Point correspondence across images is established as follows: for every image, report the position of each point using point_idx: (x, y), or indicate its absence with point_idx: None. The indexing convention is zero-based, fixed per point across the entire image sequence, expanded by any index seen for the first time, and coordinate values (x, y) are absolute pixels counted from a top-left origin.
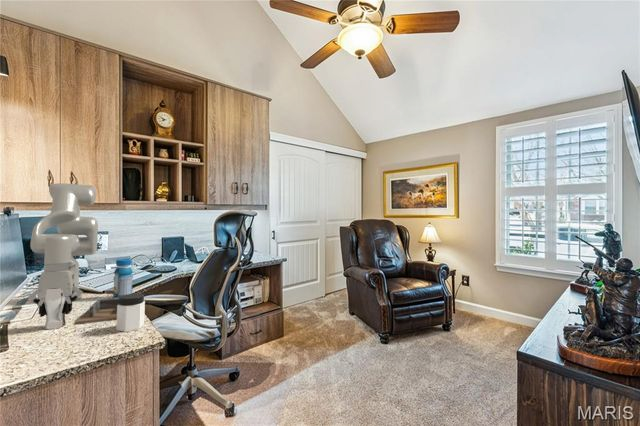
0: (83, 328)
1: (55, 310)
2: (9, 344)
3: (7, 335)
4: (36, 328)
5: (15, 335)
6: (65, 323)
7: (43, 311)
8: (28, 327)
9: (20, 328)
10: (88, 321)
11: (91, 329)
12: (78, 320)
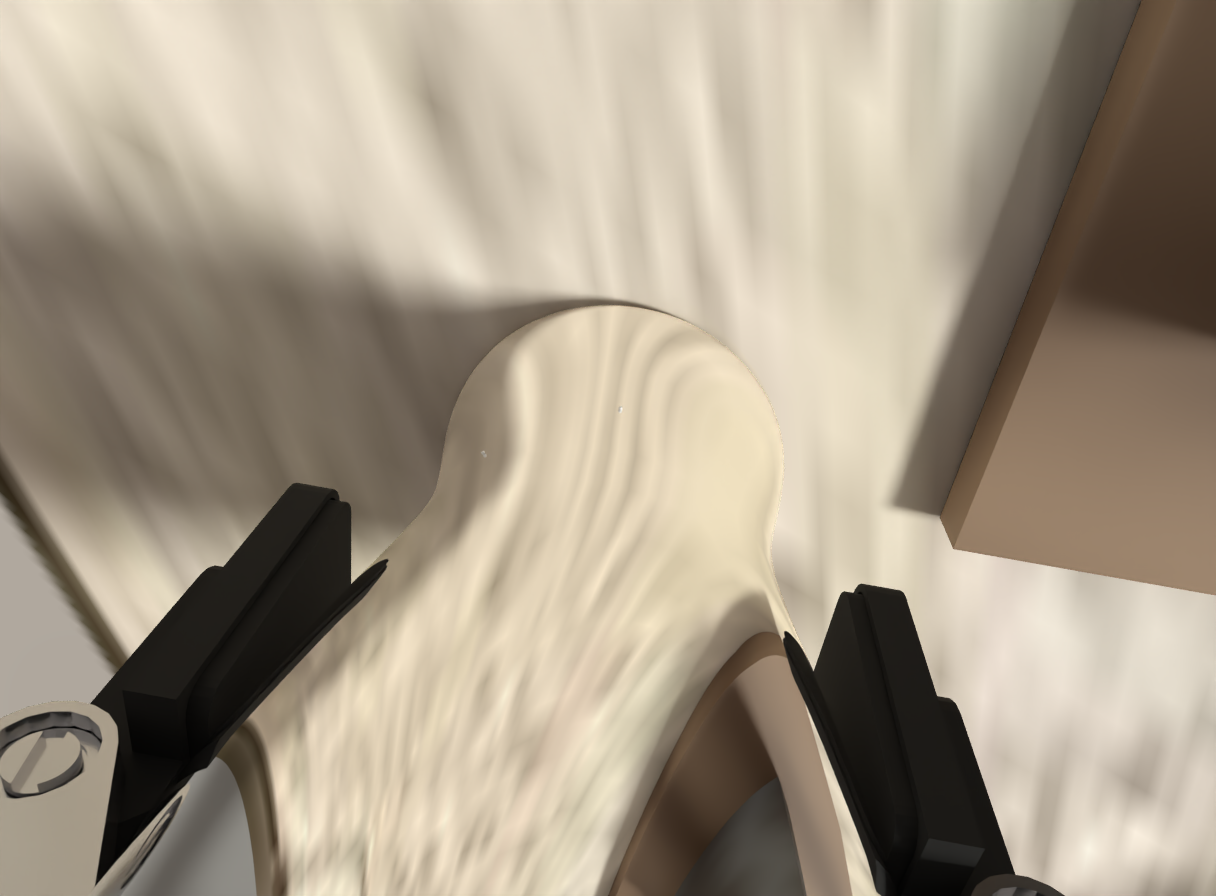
0: (1038, 789)
1: None
2: None
3: (40, 530)
4: (320, 385)
5: (161, 591)
6: (780, 497)
7: None
8: (138, 226)
9: (16, 215)
10: (1181, 573)
11: (1130, 883)
12: (1018, 488)
